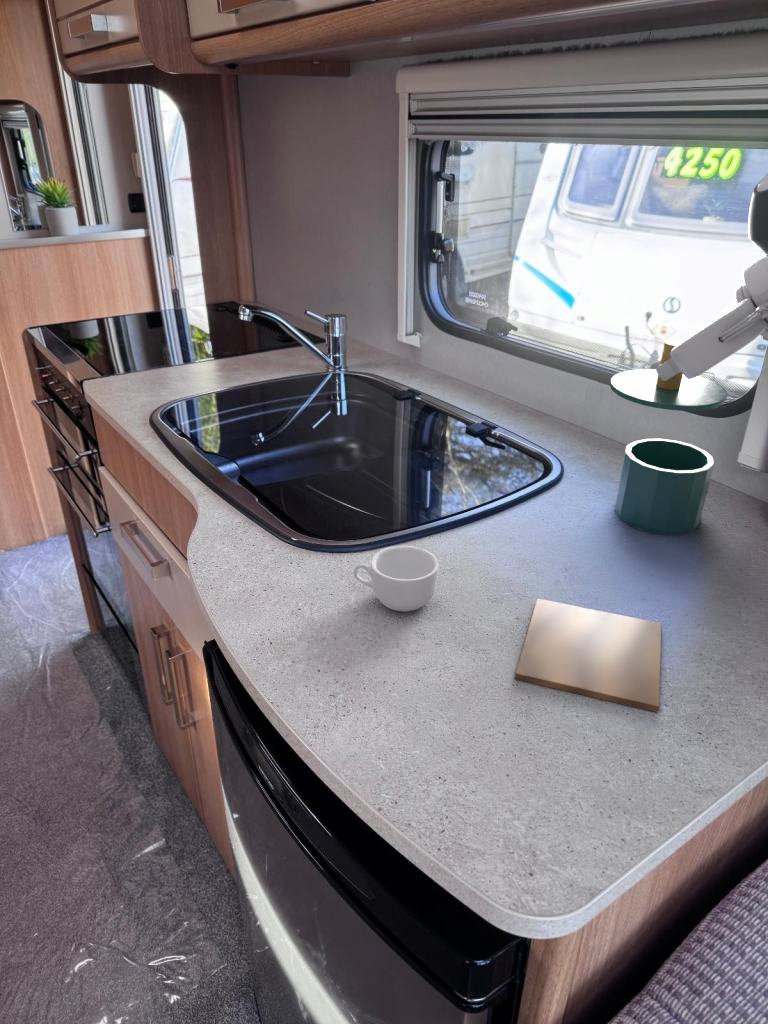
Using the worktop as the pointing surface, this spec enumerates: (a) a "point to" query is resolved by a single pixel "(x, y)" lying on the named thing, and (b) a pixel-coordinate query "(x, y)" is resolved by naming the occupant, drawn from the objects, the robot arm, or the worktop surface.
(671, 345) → the tin lid
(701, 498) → the tea tin
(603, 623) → the plate
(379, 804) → the worktop surface
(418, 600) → the teacup
